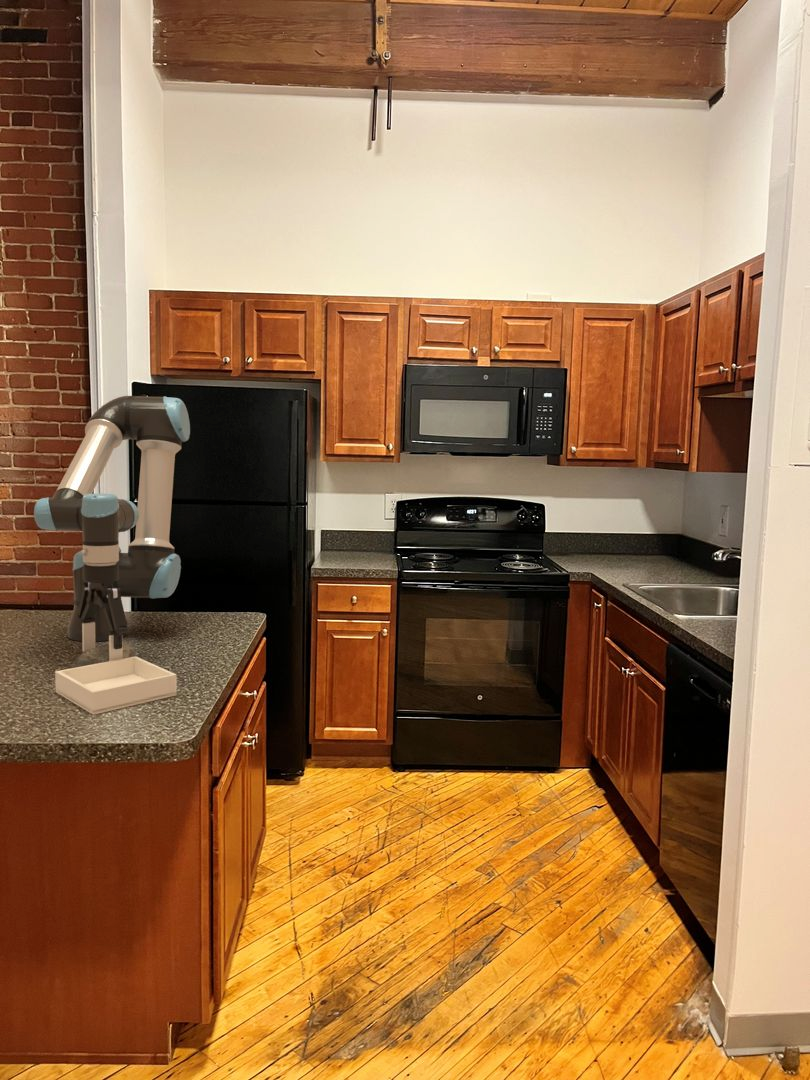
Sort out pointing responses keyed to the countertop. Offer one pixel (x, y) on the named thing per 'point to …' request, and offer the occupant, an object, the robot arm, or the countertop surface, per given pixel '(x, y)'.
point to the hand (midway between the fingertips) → (102, 656)
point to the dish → (115, 684)
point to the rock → (101, 655)
